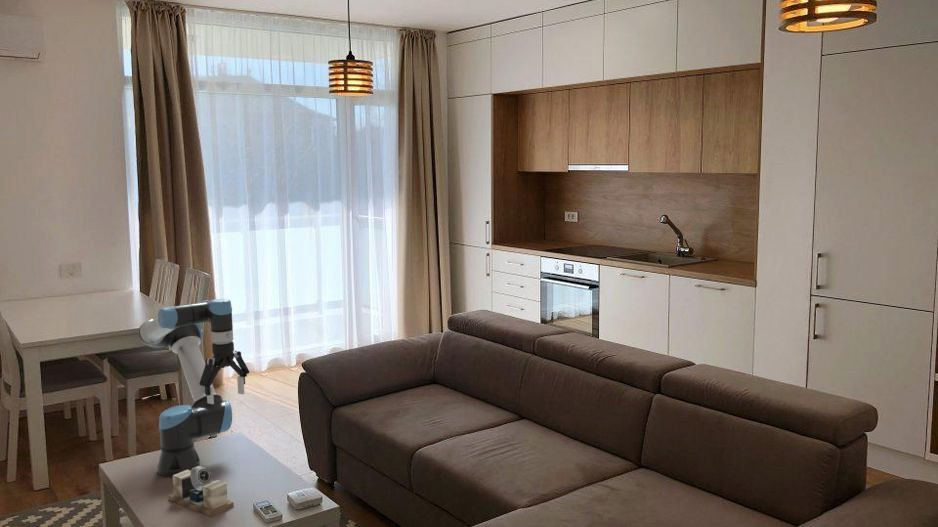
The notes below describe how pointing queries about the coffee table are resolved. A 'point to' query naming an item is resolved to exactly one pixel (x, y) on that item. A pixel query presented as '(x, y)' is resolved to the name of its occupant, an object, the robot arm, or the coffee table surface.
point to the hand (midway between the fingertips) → (226, 398)
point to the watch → (199, 482)
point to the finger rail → (212, 495)
